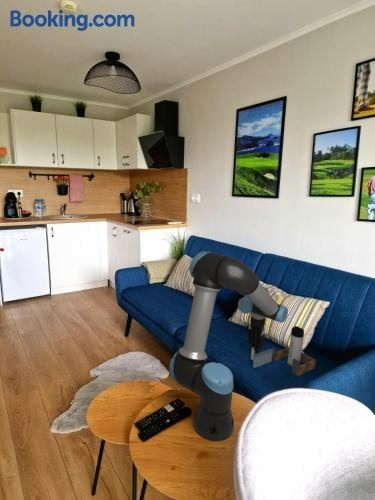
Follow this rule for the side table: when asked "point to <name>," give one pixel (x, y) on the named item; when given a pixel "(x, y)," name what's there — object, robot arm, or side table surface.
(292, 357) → the travel mug
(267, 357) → the grey rectangular panel
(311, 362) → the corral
